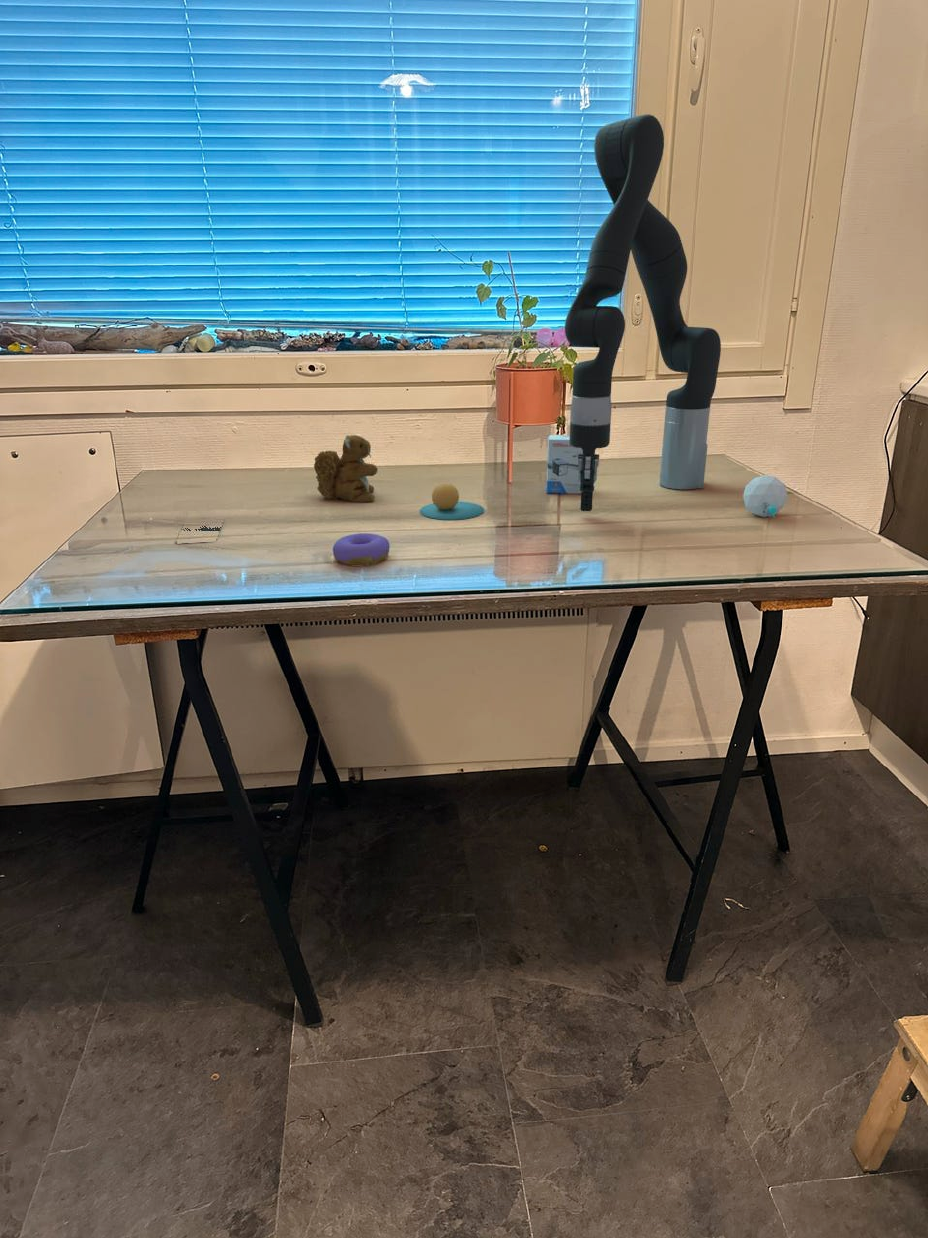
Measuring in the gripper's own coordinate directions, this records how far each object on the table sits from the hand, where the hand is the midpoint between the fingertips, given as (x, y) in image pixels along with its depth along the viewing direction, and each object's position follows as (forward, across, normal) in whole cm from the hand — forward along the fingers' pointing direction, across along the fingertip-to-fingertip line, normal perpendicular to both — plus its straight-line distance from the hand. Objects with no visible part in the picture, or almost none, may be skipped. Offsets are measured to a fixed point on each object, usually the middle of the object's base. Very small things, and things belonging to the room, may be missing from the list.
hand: (586, 509), depth 159 cm
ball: (-1, +2, +28) cm, 28 cm away
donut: (+2, -29, +37) cm, 47 cm away
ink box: (+2, +20, +5) cm, 21 cm away
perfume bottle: (+2, +4, -34) cm, 34 cm away
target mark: (+2, +2, +27) cm, 27 cm away
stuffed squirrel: (+2, +10, +52) cm, 53 cm away
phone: (+2, -18, +72) cm, 74 cm away
